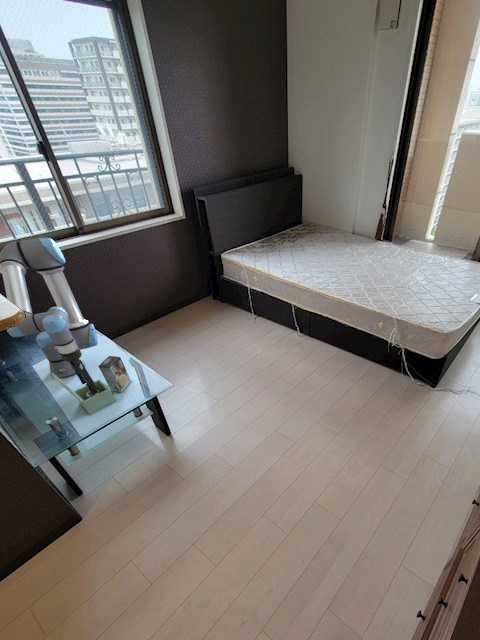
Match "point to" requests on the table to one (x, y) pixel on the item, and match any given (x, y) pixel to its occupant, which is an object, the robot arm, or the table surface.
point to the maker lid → (66, 387)
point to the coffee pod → (90, 394)
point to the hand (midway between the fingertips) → (90, 388)
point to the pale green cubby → (95, 397)
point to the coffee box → (115, 373)
